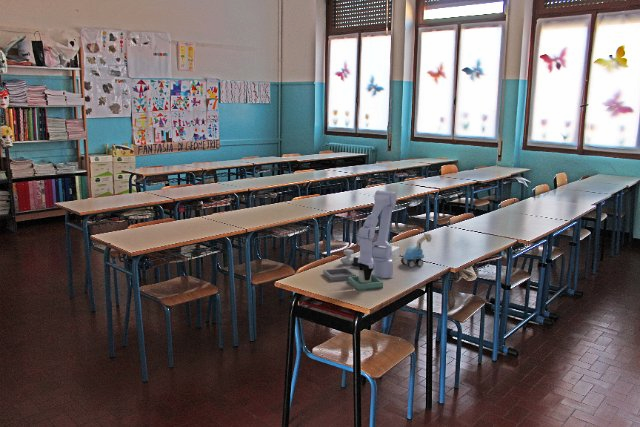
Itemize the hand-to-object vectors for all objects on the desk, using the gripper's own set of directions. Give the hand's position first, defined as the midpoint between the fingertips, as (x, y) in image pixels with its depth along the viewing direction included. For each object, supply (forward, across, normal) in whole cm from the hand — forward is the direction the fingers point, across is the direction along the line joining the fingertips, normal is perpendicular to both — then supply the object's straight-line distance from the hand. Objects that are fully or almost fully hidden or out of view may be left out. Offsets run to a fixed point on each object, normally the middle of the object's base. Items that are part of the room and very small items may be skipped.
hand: (365, 278), depth 272 cm
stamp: (+4, -36, +5) cm, 37 cm away
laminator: (+4, -36, +23) cm, 43 cm away
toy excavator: (+4, -25, +41) cm, 48 cm away
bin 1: (+3, -15, -8) cm, 17 cm away
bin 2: (+3, 0, 0) cm, 3 cm away
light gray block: (+1, 0, 0) cm, 1 cm away
